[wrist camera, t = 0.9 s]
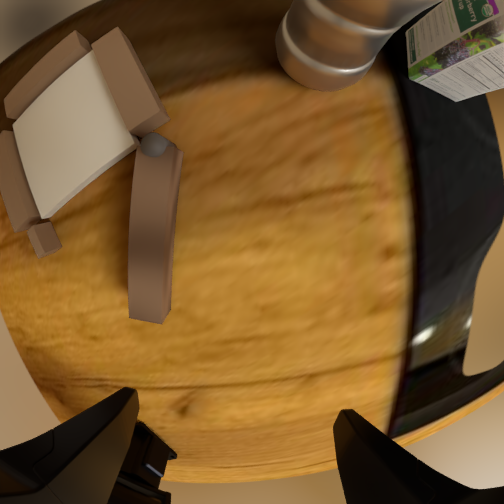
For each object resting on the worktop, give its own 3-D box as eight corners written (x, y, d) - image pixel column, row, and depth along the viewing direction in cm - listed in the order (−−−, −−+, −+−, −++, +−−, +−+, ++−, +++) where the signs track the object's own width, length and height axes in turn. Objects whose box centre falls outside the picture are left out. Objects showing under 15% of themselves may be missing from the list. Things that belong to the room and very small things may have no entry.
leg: (153, 141, 17) (134, 132, 14) (185, 142, 17) (173, 133, 14) (142, 303, 20) (125, 322, 16) (171, 308, 20) (158, 329, 16)
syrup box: (403, 30, 15) (498, -47, 1) (452, 56, 15) (552, 10, 1) (406, 79, 16) (534, 12, 2) (457, 104, 16) (580, 75, 2)
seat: (46, 260, 19) (29, 267, 16) (1, 125, 16) (-14, 122, 13) (190, 157, 17) (182, 152, 15) (118, 19, 14) (108, 6, 12)
